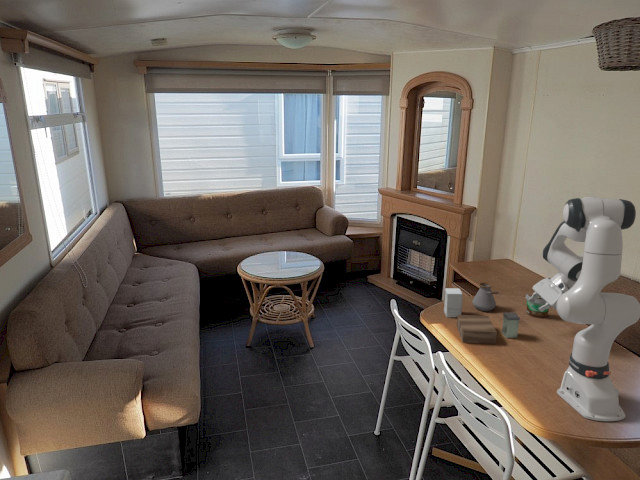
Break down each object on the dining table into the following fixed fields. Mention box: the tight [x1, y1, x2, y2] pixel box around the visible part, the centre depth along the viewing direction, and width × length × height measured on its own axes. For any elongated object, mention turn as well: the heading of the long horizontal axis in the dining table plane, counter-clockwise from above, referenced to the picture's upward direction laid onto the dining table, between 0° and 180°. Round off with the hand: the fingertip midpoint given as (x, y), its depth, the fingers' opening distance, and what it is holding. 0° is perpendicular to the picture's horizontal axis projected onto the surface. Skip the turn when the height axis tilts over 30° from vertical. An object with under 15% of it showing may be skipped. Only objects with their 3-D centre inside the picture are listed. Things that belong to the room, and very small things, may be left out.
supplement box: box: [443, 287, 464, 318], centre depth 230 cm, size 7×7×13 cm
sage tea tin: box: [501, 312, 521, 339], centre depth 209 cm, size 5×5×10 cm
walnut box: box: [456, 314, 498, 345], centre depth 211 cm, size 16×14×6 cm
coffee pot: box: [472, 282, 501, 312], centre depth 231 cm, size 21×12×15 cm, turn 2°
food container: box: [524, 294, 550, 319], centre depth 227 cm, size 12×6×10 cm, turn 73°
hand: (534, 305), depth 206 cm, fingers open, 8 cm apart
